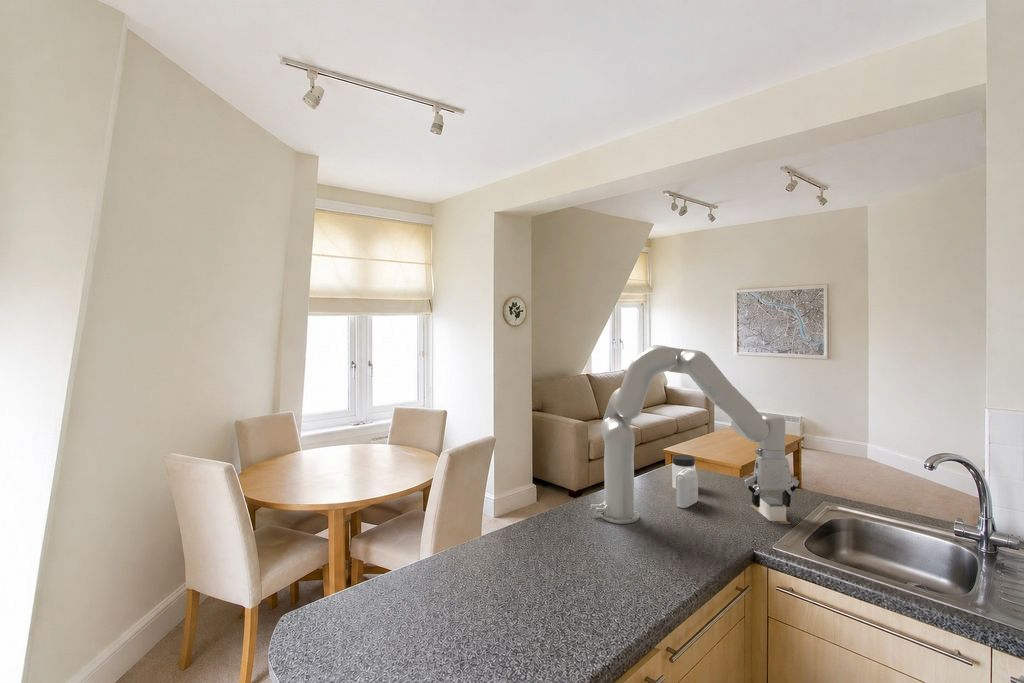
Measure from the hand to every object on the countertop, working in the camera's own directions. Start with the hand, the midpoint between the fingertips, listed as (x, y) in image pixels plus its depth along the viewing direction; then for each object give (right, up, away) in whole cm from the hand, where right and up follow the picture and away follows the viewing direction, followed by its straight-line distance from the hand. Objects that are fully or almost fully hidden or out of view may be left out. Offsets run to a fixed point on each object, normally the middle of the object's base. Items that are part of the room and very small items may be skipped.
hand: (771, 505), depth 157 cm
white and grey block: (0, -3, 0) cm, 3 cm away
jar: (-18, -3, +30) cm, 35 cm away
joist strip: (0, -4, +2) cm, 4 cm away
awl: (0, -3, +9) cm, 10 cm away
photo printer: (-23, -4, +13) cm, 26 cm away
